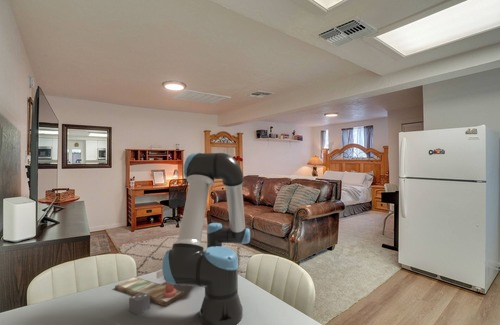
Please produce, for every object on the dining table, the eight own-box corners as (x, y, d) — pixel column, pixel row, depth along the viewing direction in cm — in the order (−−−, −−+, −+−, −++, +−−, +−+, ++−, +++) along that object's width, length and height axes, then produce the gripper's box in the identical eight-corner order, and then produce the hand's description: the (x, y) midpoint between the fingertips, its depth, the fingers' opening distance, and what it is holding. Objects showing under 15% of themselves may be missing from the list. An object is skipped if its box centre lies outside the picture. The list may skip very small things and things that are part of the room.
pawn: (178, 293, 102) (178, 263, 102) (169, 299, 98) (169, 267, 98) (169, 290, 105) (169, 261, 105) (160, 296, 100) (160, 265, 100)
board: (184, 294, 104) (184, 291, 104) (165, 306, 95) (165, 302, 95) (135, 279, 118) (135, 276, 118) (115, 288, 109) (115, 285, 109)
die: (149, 308, 94) (149, 294, 95) (138, 315, 90) (138, 301, 90) (140, 304, 97) (140, 291, 97) (129, 311, 92) (129, 297, 92)
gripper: (224, 273, 115) (193, 295, 96) (182, 264, 126) (147, 281, 107) (224, 257, 115) (193, 275, 96) (182, 248, 126) (147, 263, 107)
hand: (169, 278), depth 102 cm, fingers open, 13 cm apart
